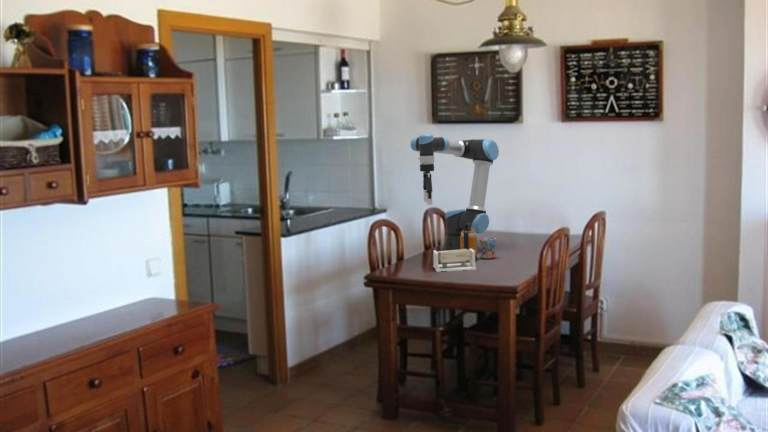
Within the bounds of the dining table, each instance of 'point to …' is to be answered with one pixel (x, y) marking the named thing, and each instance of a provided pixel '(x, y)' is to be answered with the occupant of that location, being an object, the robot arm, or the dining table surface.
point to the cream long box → (454, 255)
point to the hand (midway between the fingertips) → (428, 203)
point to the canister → (468, 239)
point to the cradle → (454, 266)
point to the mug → (488, 247)
